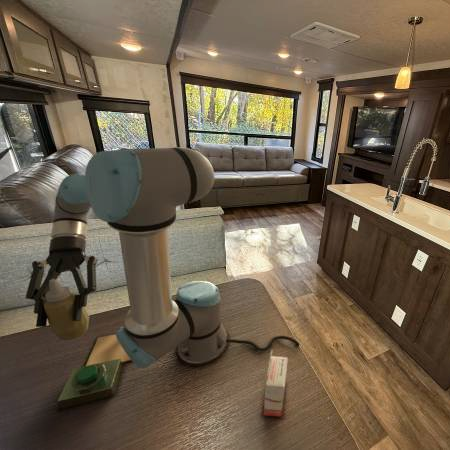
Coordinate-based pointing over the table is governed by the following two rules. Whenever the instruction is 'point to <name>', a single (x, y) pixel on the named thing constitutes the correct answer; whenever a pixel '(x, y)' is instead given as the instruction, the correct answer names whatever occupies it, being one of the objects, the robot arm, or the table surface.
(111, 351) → the oak mat
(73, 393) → the green buzzer pad
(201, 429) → the table surface
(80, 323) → the squeeze bottle
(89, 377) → the button
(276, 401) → the ink cartridge box
